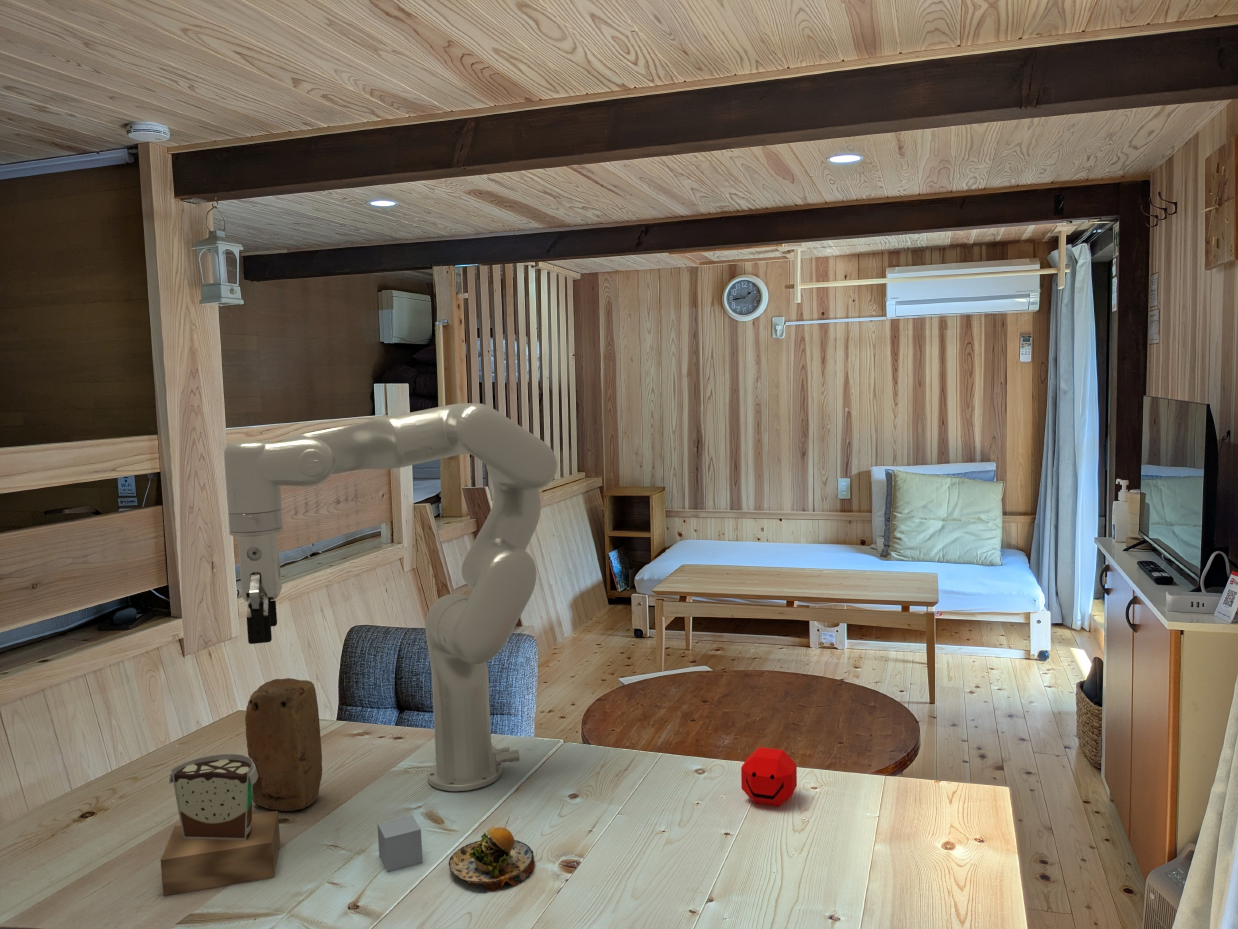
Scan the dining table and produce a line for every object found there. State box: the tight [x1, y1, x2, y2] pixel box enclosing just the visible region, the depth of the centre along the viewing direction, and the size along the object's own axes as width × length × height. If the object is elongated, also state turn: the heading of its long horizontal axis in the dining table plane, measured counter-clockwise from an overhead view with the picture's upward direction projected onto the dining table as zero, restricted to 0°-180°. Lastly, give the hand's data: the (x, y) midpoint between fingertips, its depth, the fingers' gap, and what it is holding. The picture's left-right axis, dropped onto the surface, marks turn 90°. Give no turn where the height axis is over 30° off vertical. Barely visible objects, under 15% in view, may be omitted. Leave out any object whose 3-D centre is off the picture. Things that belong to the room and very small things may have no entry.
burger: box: [448, 817, 535, 893], centre depth 126 cm, size 12×12×8 cm
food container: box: [168, 753, 258, 840], centre depth 129 cm, size 12×6×10 cm, turn 83°
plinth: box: [160, 810, 281, 897], centre depth 128 cm, size 14×10×5 cm
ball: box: [740, 747, 798, 807], centre depth 144 cm, size 8×8×8 cm
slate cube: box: [377, 814, 424, 873], centre depth 129 cm, size 5×5×5 cm
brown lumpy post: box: [244, 677, 323, 812], centre depth 148 cm, size 11×8×20 cm
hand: (263, 634), depth 138 cm, fingers open, 9 cm apart
